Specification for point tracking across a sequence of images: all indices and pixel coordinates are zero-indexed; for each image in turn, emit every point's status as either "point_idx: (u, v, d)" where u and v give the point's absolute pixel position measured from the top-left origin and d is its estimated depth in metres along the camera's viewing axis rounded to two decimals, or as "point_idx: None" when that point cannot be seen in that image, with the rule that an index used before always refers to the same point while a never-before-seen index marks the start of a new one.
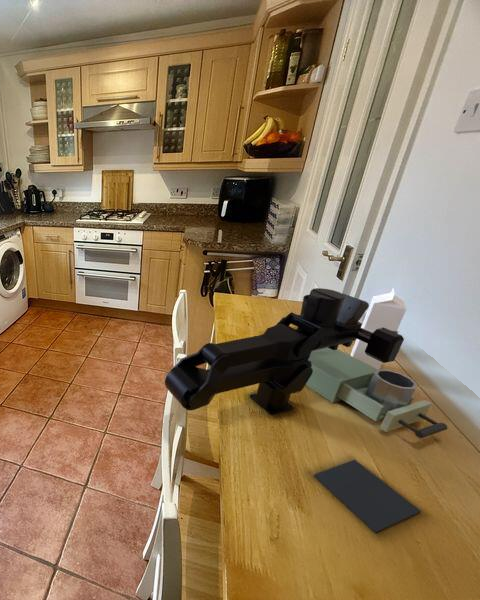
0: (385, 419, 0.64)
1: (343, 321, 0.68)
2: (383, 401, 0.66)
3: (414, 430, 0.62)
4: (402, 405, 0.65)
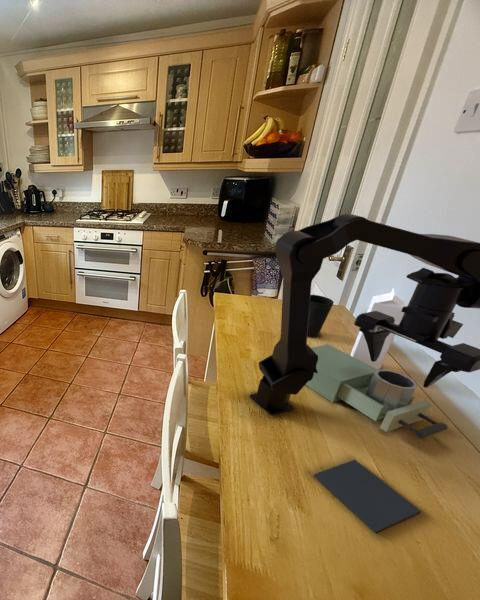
0: (385, 419, 0.64)
1: None
2: (383, 401, 0.66)
3: (414, 430, 0.62)
4: (402, 405, 0.65)
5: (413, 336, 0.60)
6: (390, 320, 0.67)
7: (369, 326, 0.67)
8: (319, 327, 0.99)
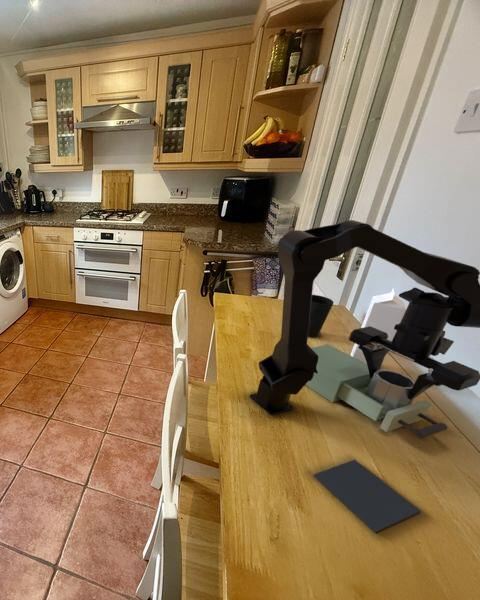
0: (385, 419, 0.64)
1: None
2: (383, 401, 0.66)
3: (414, 430, 0.62)
4: (402, 405, 0.65)
5: (405, 353, 0.62)
6: (383, 336, 0.69)
7: (363, 342, 0.69)
8: (319, 327, 0.99)
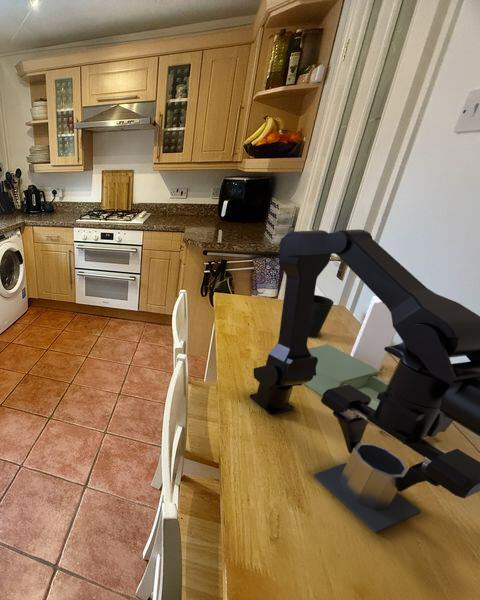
0: None
1: None
2: (365, 489, 0.50)
3: None
4: (389, 496, 0.49)
5: (391, 433, 0.46)
6: (365, 400, 0.53)
7: (338, 408, 0.53)
8: (319, 327, 0.99)
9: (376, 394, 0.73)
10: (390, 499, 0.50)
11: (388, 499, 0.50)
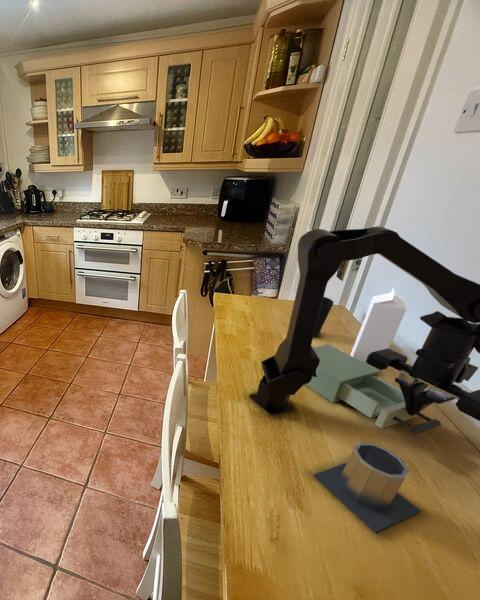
0: (380, 416, 0.65)
1: None
2: (365, 489, 0.50)
3: (408, 426, 0.63)
4: (389, 496, 0.49)
5: (427, 380, 0.59)
6: (403, 359, 0.66)
7: (381, 365, 0.66)
8: (319, 327, 0.99)
9: (371, 391, 0.74)
10: (390, 499, 0.50)
11: (388, 499, 0.50)
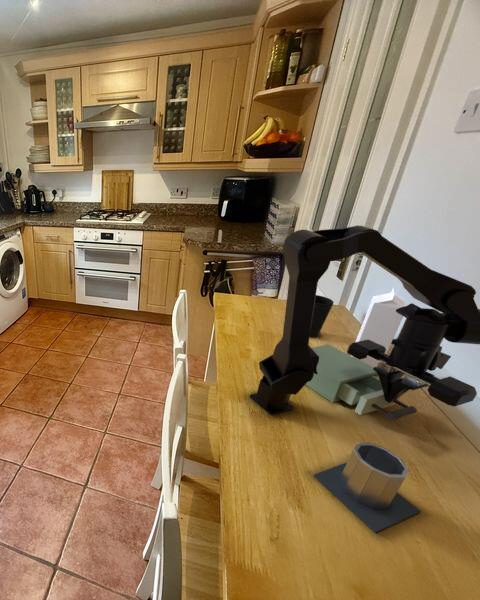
0: (359, 403, 0.69)
1: None
2: (365, 489, 0.50)
3: (385, 413, 0.66)
4: (389, 496, 0.49)
5: (402, 368, 0.63)
6: (381, 349, 0.70)
7: (361, 355, 0.69)
8: (319, 327, 0.99)
9: (354, 381, 0.77)
10: (390, 499, 0.50)
11: (388, 499, 0.50)
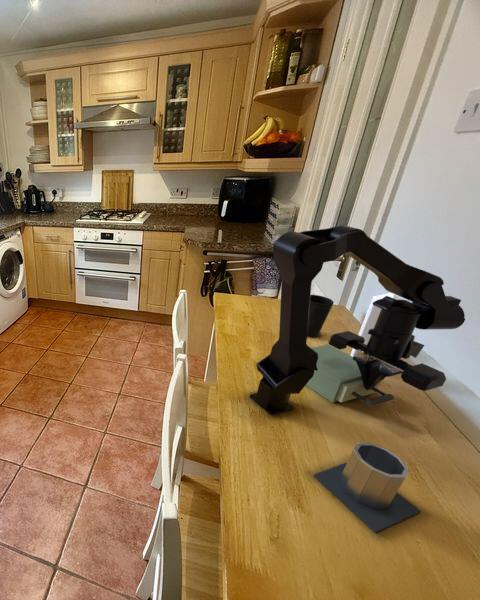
0: (340, 391, 0.72)
1: None
2: (365, 489, 0.50)
3: (364, 400, 0.70)
4: (389, 496, 0.49)
5: (378, 356, 0.66)
6: (360, 340, 0.73)
7: (341, 345, 0.73)
8: (319, 327, 0.99)
9: None
10: (390, 499, 0.50)
11: (388, 499, 0.50)
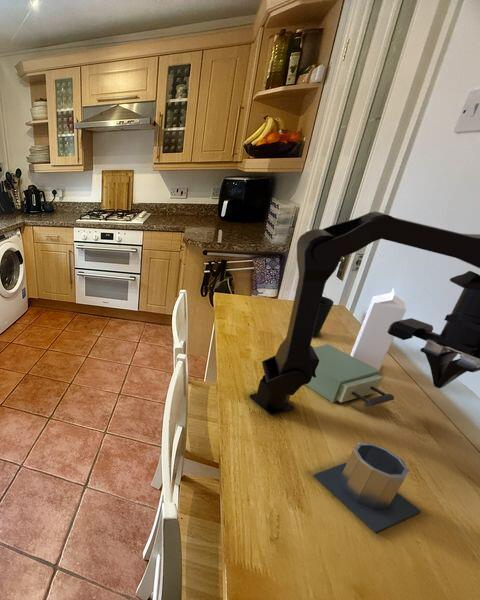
0: (340, 391, 0.72)
1: None
2: (365, 489, 0.50)
3: (364, 400, 0.70)
4: (389, 496, 0.49)
5: (458, 347, 0.55)
6: (428, 328, 0.62)
7: (405, 335, 0.61)
8: (319, 327, 0.99)
9: None
10: (390, 499, 0.50)
11: (388, 499, 0.50)
